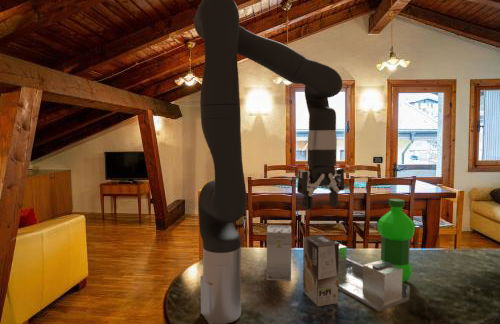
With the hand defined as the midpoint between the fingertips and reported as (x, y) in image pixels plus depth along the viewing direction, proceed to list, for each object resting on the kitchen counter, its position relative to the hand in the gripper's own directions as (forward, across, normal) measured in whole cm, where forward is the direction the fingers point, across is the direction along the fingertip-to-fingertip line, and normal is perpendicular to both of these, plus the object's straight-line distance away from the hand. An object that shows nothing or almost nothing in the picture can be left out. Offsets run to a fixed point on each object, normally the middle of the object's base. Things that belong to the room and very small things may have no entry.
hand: (321, 207), depth 88 cm
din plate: (+25, -14, -1) cm, 29 cm away
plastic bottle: (+25, -27, +3) cm, 37 cm away
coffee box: (+25, 0, 0) cm, 25 cm away
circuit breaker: (+25, 0, -20) cm, 32 cm away
